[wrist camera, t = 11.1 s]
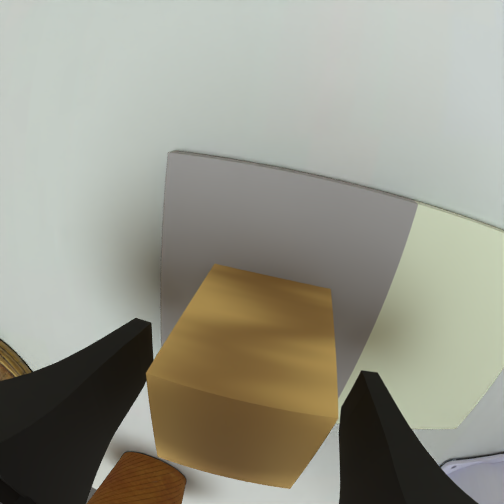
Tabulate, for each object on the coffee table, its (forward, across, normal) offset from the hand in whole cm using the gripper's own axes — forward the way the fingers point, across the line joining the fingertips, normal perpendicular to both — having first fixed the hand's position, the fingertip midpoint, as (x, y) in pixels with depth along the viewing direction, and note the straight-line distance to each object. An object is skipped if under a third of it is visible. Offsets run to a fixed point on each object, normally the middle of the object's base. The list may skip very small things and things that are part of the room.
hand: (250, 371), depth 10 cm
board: (+4, -4, 0) cm, 6 cm away
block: (+3, 0, 0) cm, 3 cm away
